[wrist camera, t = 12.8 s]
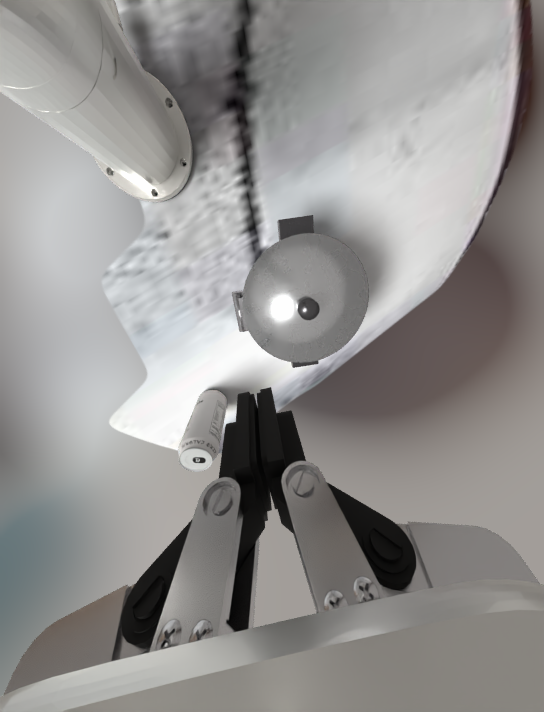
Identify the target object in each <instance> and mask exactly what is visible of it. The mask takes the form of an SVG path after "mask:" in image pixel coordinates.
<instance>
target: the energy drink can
mask: <svg viewBox="0 0 544 712" xmlns="http://www.w3.org/2000/svg"><path fill="white" fill-rule="evenodd" d="M226 407H227V399H226V397H225V396H224V395H223V394H222V393H221V392H220V391H217V390H208V391H205V392H203V393H202V394H201V395H200V396H199V398H198V400H197V403H196V405H195V408H194V410H193V413H192V415H191V418H190V420H189V423H188V425H187V427H186V430H185V432H184V435H183V437H182V440H181V442H180V445H179V447H178V452H179V463H180V465H181V466H182V467H183V468H184V469H186V470H189V471H193V472H199V471H203V470H206V469H208V468H209V467H210V466H211V464H212V461H213V460H214V459H215V458H216V457H217V455H218V451H219V445H220V440H221V434H222V429H223V424H224V418H225V413H226Z"/></svg>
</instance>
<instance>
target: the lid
mask: <svg viewBox="0 0 544 712" xmlns="http://www.w3.org/2000/svg"><path fill="white" fill-rule="evenodd" d="M368 298H369V288H368V280H367V277H366V273H365V270H364V268H363V266H362V264H361V262H360V260H359V259H358V257H357V256H356V255H355V254H354V252H353V251H352V250H351V249H350V248H349V247H347V246H346V245H345V244H344V243H342V242H340V241H339V240H337V239H335V238H332V237H330V236H327V235H322V234H315V233H305V234H298V235H293V236H290V237H288V238H285V239H283V240H281V241H279V242H277V243H275V244H274V245H273V246H271V247H270V248H269V249H267V250H266V251H265V252H264V253H263V254H262V255H261V256H260V257H259V258H258V260H257V261H256V262H255V264H254V265H253V267H252V269H251V270H250V272H249V275H248V277H247V279H246V282H245V286H244V290H243V297H240V294H235V300H236V305H237V310H238V315H239V320H240V325H241V330H242V332H245V331H246V330H249V332H250V334H251V336H252V337H253V339H254V340H255V341H256V343H257V344H258V345H259V346H260V347H261V348H262V349H264V350H265V351H266V352H267V353H269V354H271V355H272V356H274V357H277V358H279V359H282V360H285V361H289V362H297V363H304V362H312V361H317V360H320V359H323V358H326V357H328V356H330V355H332V354H334V353H335V352H337V351H338V350H340V349H341V348H342V347H344V346H345V345H346V344H347V343H348V342H349V341H350V340H351V339H352V337H353V336H354V335H355V333H356V332H357V331H358V329H359V327H360V325H361V323H362V321H363V319H364V316H365V314H366V310H367V306H368Z"/></svg>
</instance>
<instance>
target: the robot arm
mask: <svg viewBox="0 0 544 712" xmlns="http://www.w3.org/2000/svg"><path fill="white" fill-rule="evenodd" d="M0 92H1V93H3V94H4V95H5V96H7V97H8V98H10V99H11V100H13V101H14V102H16V103H17V104H19V105H20V106H21V107H23V108H24V109H26V110H27V111H29V112H30V113H32V114H33V115H35V116H36V117H37V118H39V119H40V120H42V121H43V122H45V123H46V124H48V125H49V126H50V127H52V128H53V129H55V130H56V131H58V132H59V133H61V134H62V135H64V136H65V137H66V138H68V139H70V140H71V141H72V142H74V143H75V144H77V145H78V146H80V147H81V148H83V149H84V150H85V151H87V152H88V153H90V154H91V155H93V157H94V159H95V160H96V162H97V164H98V165H99V167H100V169H101V170H102V171H103V172H104V174H105V175H106V176H107V177H108V178H109V179H110V180H111V181H112V182H113V183H114V184H115V185H116V186H117V187H118V188H120V189H121V190H123V191H124V192H126V193H128V194H129V195H131V196H133V197H135V198H137V199H140V200H143V201H148V202H162V201H165V200H168V199H170V198H172V197H173V196H175V195H177V194H178V193H179V192H180V190H181V189H182V188H183V187H184V185H185V184H186V182H187V180H188V177H189V174H190V172H191V166H192V143H191V136H190V133H189V129H188V126H187V123H186V121H185V118H184V116H183V114H182V112H181V110H180V108H179V106H178V104H177V102H176V100H175V99H174V98H173V96H172V95H171V93H170V92H169V91H168V89H167V88H166V87H165V86H164V85H163V84H162V83H161V82H160V81H159V80H158V79H157V78H155V77H154V76H152V75H151V74H150V73H148V72H147V71H145V70H144V69H143V67H142V66H141V64H140V62H139V60H138V58H137V57H136V55H135V53H134V51H133V49H132V48H131V46H130V44H129V42H128V40H127V39H126V37H125V35H124V33H123V28H122V25H121V21H120V17H119V14H118V10H117V7H116V3H115V1H114V0H0ZM170 106H172V107H171V108H170ZM184 163H186V164H187V165H186V166H185V167H184V166H183V165H184ZM113 172H114V175H113ZM156 193H158V196H157V197H156ZM260 391H261V392H260V393H257V404H258V408H257V404H256V400H255V397H254V394H251V395H250V393H249V392H246V393H241V394H238V400H237V414H236V422H233V423H228V424H226V427H225V434H224V442H223V450H222V458H221V466H220V473H219V478H218V479H217V480H215V481H213V482H212V483H210V484H209V485H208V486H207V487H206V488H205V490H204V491H203V492H202V495H201V496H200V499H199V501H198V504H197V508H196V510H195V514H194V517H193V519H192V520H191V522H189V524H188V525H187V526H186V527H185V528H184V529H183V530H182V531H181V533H180V534H179V535H178V536H177V537H176V538H175V539H174V540H173V541H172V543H171V544H170V545H169V546H168V547H167V548H166V549H165V550H164V552H163V553H162V554H161V555H160V556H159V557H158V558H157V559H156V560H155V562H154V563H153V564H152V565H151V566H150V567H149V568H148V569H147V571H146V572H145V573H144V574H143V575H142V576H141V577H140V579H139V580H138V581H137V583H136V584H134V585H132V586H130V587H129V586H128V585H126V586H123V587H121V588H119V589H117V590H116V591H113V592H112V593H110V594H108V595H106V596H104V597H102V598H100V599H98V600H96V601H94V602H92V603H90V604H88V605H86V606H84V607H83V608H81V609H79V610H77V611H75V612H73V613H71V614H69V615H67V616H65V617H63V618H61V619H59V620H58V621H56V622H54V623H53V624H51V625H50V626H49V627H47V628H46V629H45V630H44V631H43V632H42V633H41V634H40V635H39V636H38V637H37V638H36V639H35V640H34V641H33V642H32V644H31V645H30V646H29V648H28V649H27V651H26V652H25V654H24V655H23V656H22V658H21V659H20V661H19V663H18V665H17V667H16V669H15V671H14V672H13V674H12V677H11V679H10V681H9V683H8V686H7V688H6V690H5V693H4V695H3V696H1V697H0V712H544V585H542V584H540V583H539V582H538V580H537V579H536V577H535V576H534V575H533V573H532V572H531V570H530V569H529V568H528V566H527V565H526V563H525V562H524V560H523V559H522V558H521V556H520V555H519V554H518V553H517V552H516V550H515V549H514V548H513V547H512V546H511V545H510V544H509V543H508V542H507V541H505V540H504V539H503V538H502V537H500V536H499V535H497V534H496V533H494V532H492V531H490V530H488V529H486V528H481V527H478V526H468V525H452V524H437V523H421V522H408V523H407V524H395V523H394V522H393V521H391V520H390V519H388V518H386V517H385V516H383V515H381V514H380V513H378V512H376V511H375V510H373V509H371V508H369V507H368V506H366V505H364V504H363V503H361V502H359V501H358V500H356V499H354V498H353V497H351V496H349V495H348V494H346V493H344V492H342V491H341V490H339V489H337V488H336V487H334V486H332V485H331V484H329V483H327V482H326V480H325V478H324V476H323V474H322V472H321V471H320V470H319V468H318V467H317V466H315V465H314V464H313V463H310V462H308V461H306V460H305V456H304V452H303V449H302V445H301V442H300V438H299V435H298V432H297V428H296V425H295V421H294V418H293V414H292V411H286V412H281V413H277V414H276V409H275V404H274V399H273V395H272V390H271V387H270V388H266V389H261V390H260ZM270 493H271V496H272V499H273V502H274V506H275V509H278V512H279V516H280V519H281V523H282V524H283V525H284V526H285V527H286V528H288V529H289V530H290V531H291V532H292V533H293V534H294V538H295V541H296V544H297V548H298V551H299V554H300V558H301V561H302V565H303V568H304V572H305V575H306V578H307V582H308V585H309V588H310V592H311V595H312V599H313V602H314V605H315V609H316V612H317V613H316V614H312V615H308V616H303V617H299V618H294V619H290V620H286V621H281V622H277V623H273V624H269V625H265V626H260V627H256V628H253V623H254V609H255V595H256V581H257V567H258V554H259V536H260V535H261V533H262V531H263V530H264V528H265V521H267V520H268V518H267V511H270V510H271V497H270Z"/></svg>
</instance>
